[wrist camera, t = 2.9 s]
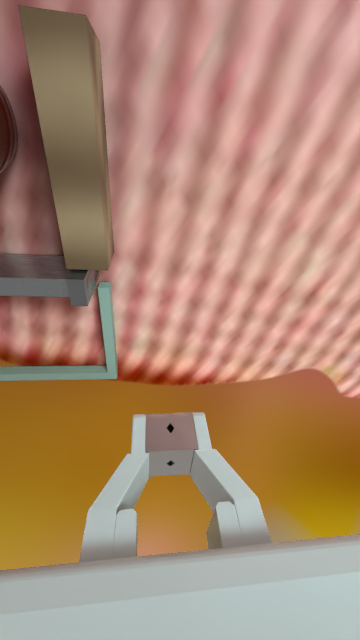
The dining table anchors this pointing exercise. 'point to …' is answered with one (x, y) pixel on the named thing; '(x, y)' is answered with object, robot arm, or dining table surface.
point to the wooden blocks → (72, 130)
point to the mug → (7, 131)
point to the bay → (77, 371)
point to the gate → (45, 278)
